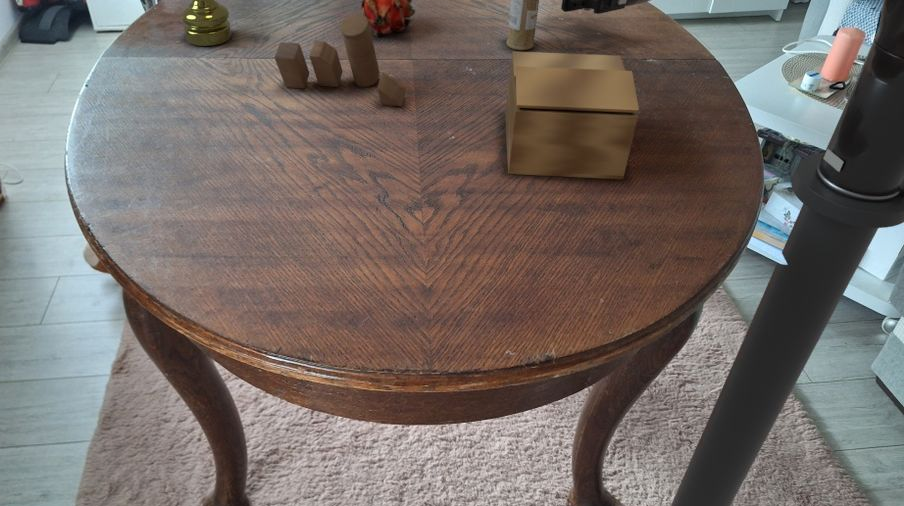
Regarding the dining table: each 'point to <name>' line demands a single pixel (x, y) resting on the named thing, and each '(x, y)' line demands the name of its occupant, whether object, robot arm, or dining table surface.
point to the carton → (566, 127)
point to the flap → (576, 89)
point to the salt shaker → (206, 23)
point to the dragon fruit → (387, 15)
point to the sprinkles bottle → (522, 24)
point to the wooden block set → (329, 63)
